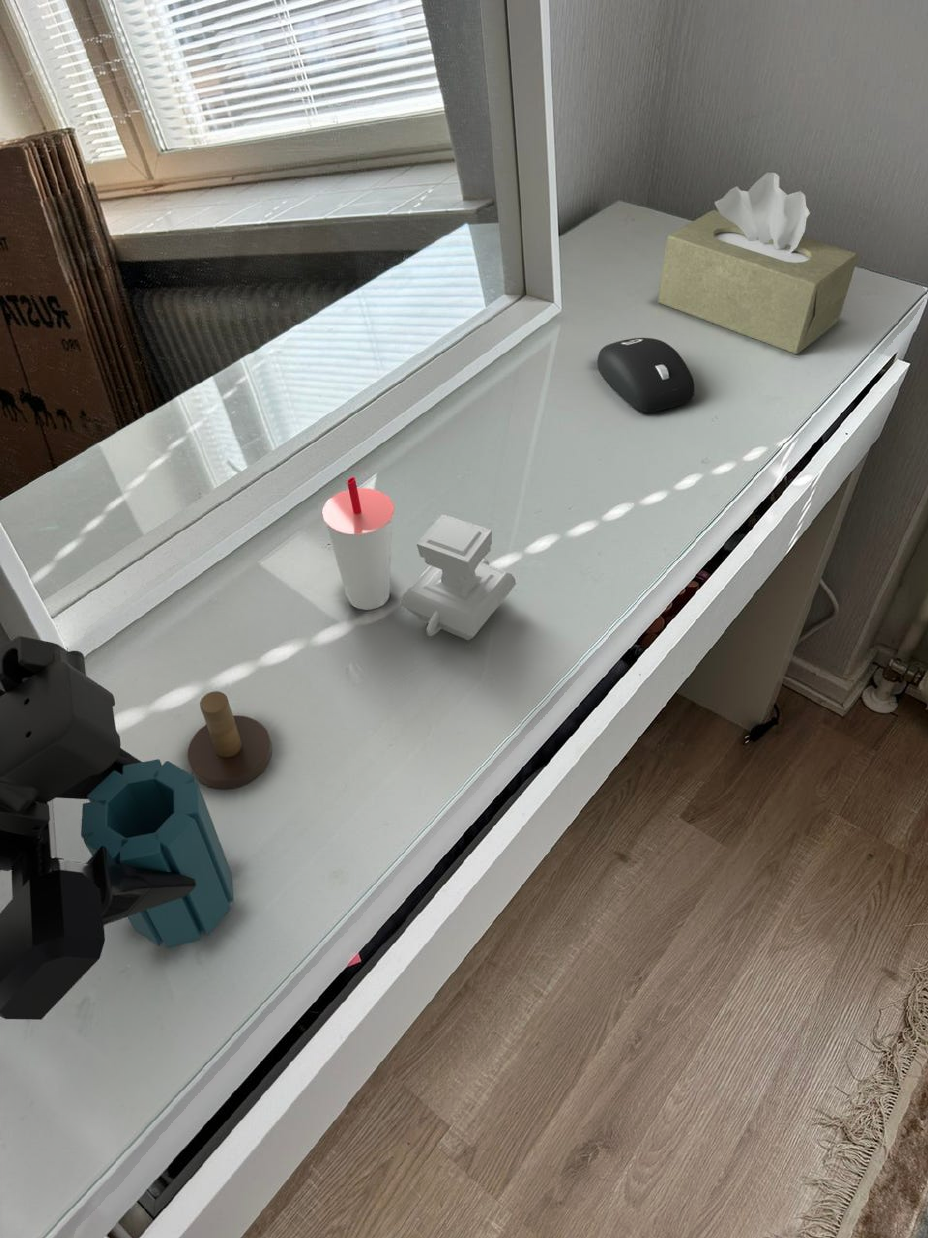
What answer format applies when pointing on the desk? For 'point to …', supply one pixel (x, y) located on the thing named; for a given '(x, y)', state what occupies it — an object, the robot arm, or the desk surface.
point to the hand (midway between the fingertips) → (183, 839)
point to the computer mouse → (646, 374)
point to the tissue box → (757, 268)
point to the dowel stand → (227, 746)
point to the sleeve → (162, 845)
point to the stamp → (456, 579)
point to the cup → (362, 543)
